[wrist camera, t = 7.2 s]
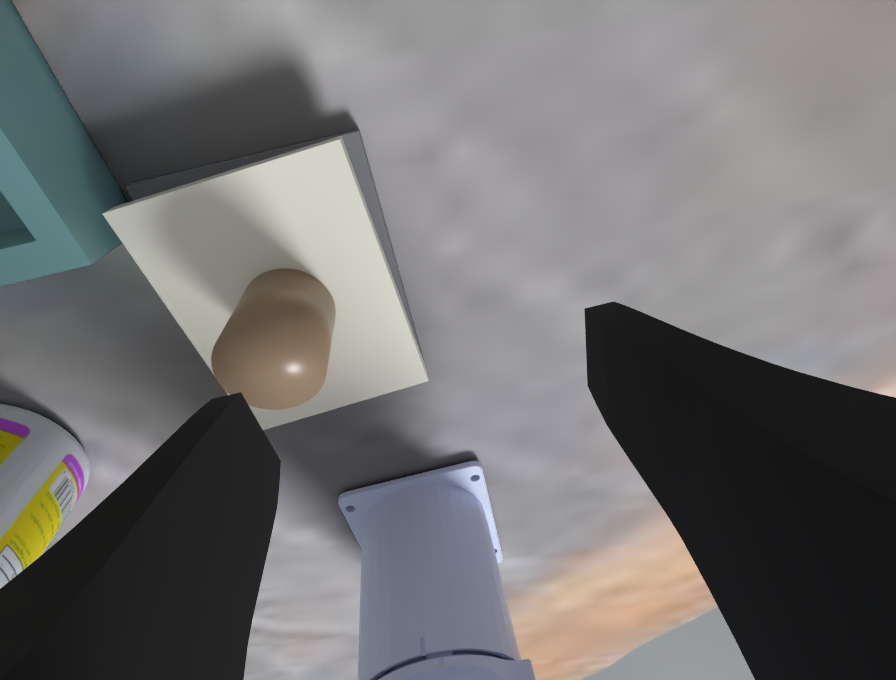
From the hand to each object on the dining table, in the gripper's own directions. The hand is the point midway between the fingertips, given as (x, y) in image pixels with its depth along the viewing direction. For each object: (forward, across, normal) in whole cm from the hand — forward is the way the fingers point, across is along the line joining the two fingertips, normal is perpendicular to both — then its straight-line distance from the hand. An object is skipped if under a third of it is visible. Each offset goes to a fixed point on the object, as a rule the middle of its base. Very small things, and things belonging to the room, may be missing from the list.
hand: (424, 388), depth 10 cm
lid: (+8, +4, +1) cm, 9 cm away
